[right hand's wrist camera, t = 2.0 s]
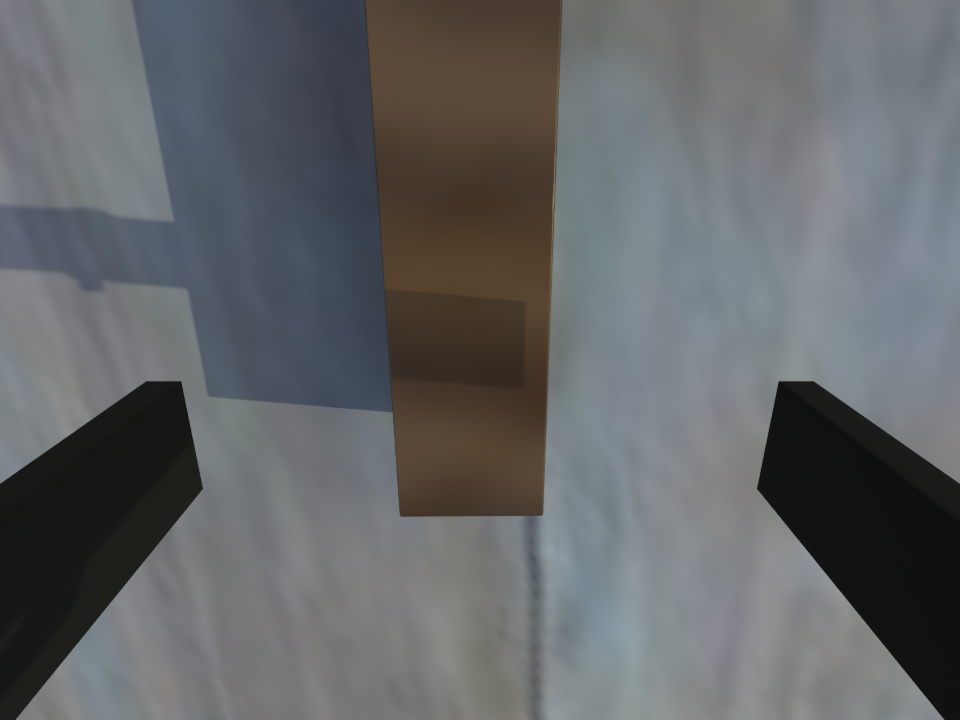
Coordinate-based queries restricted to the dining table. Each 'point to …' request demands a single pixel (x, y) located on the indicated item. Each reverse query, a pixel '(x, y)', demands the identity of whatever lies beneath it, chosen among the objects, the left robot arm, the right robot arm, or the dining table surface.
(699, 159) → the dining table surface
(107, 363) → the dining table surface
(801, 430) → the right robot arm
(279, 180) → the dining table surface
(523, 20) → the beam
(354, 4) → the dining table surface
